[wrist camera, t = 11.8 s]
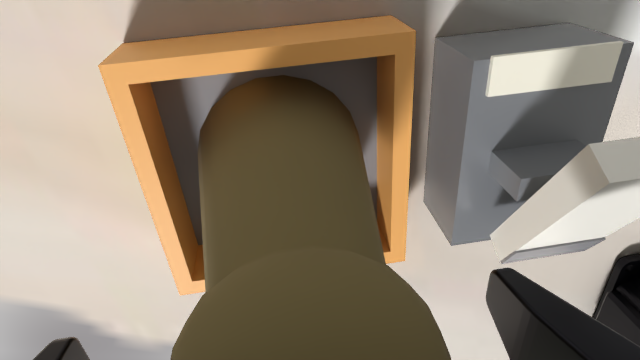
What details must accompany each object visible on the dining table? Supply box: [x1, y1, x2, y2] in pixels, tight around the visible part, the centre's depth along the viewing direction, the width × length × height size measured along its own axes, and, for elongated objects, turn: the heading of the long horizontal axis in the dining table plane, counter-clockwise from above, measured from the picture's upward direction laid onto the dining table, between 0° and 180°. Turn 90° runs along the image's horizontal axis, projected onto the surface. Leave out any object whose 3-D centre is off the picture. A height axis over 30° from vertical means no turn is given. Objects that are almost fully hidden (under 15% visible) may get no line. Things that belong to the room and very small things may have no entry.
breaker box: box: [424, 23, 634, 246], centre depth 15 cm, size 5×7×5 cm
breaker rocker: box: [490, 137, 640, 264], centre depth 12 cm, size 3×6×1 cm, turn 4°
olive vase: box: [171, 75, 451, 360], centre depth 11 cm, size 6×6×11 cm
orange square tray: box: [98, 15, 416, 295], centre depth 15 cm, size 9×9×2 cm
